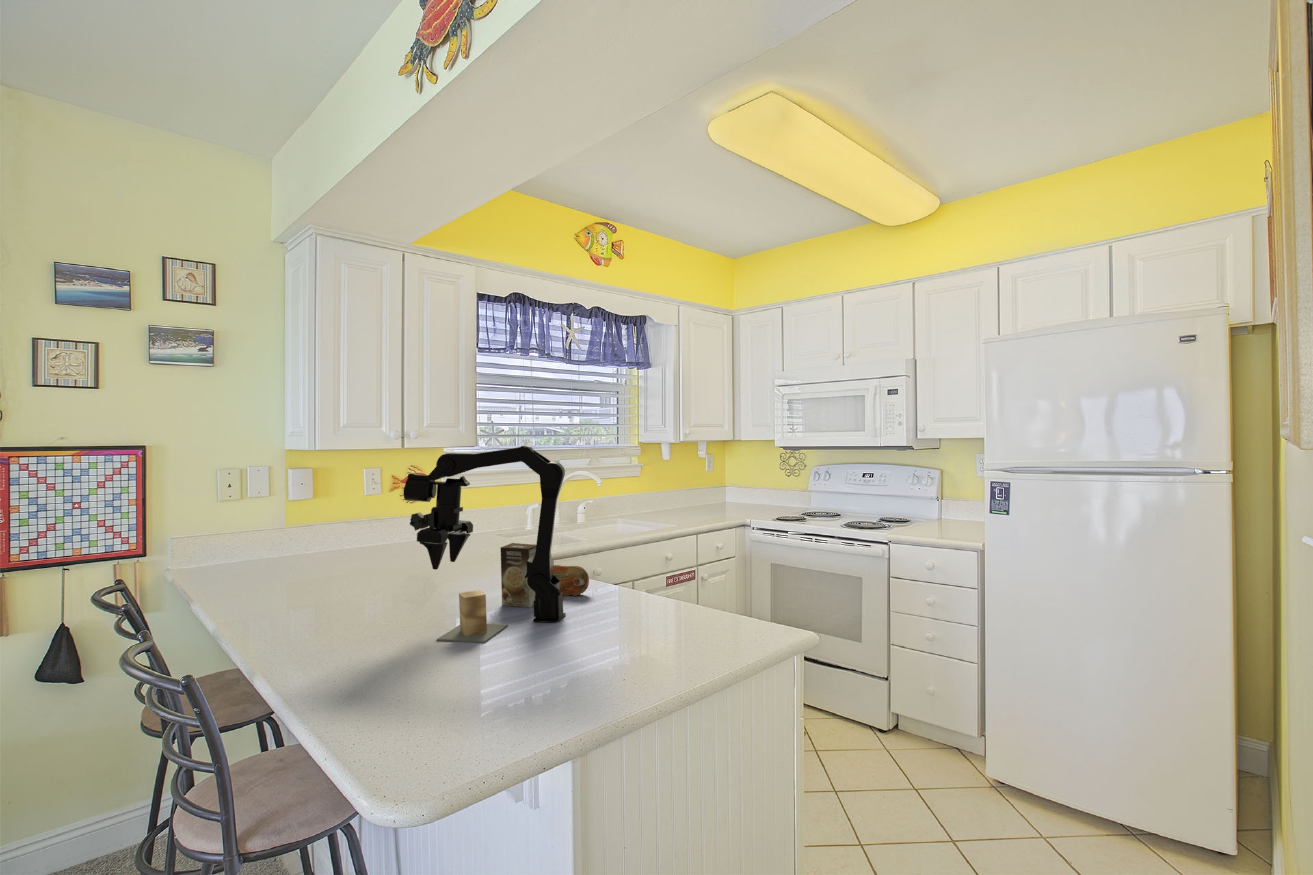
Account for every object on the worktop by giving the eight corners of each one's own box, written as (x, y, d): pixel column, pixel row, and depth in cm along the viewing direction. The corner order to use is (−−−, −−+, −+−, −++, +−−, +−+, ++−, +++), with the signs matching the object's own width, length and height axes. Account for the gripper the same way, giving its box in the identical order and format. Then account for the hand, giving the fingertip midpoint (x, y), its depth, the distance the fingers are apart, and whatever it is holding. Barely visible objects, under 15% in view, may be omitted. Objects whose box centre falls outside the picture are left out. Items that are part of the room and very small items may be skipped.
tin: (539, 593, 186) (539, 564, 186) (545, 590, 189) (544, 562, 188) (585, 597, 180) (584, 567, 180) (590, 594, 183) (590, 565, 183)
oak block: (481, 626, 155) (479, 589, 155) (487, 632, 151) (485, 594, 150) (460, 630, 152) (458, 593, 152) (465, 636, 148) (464, 597, 148)
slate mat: (508, 626, 156) (508, 624, 156) (484, 642, 144) (484, 641, 144) (463, 624, 159) (463, 622, 159) (436, 640, 147) (436, 638, 147)
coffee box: (500, 605, 174) (498, 547, 174) (513, 599, 180) (511, 542, 180) (530, 607, 171) (528, 548, 171) (542, 601, 177) (540, 543, 177)
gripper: (435, 496, 169) (432, 555, 170) (397, 504, 151) (393, 570, 151) (475, 500, 168) (471, 559, 168) (442, 508, 149) (437, 574, 150)
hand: (444, 565), depth 159 cm, fingers open, 9 cm apart
